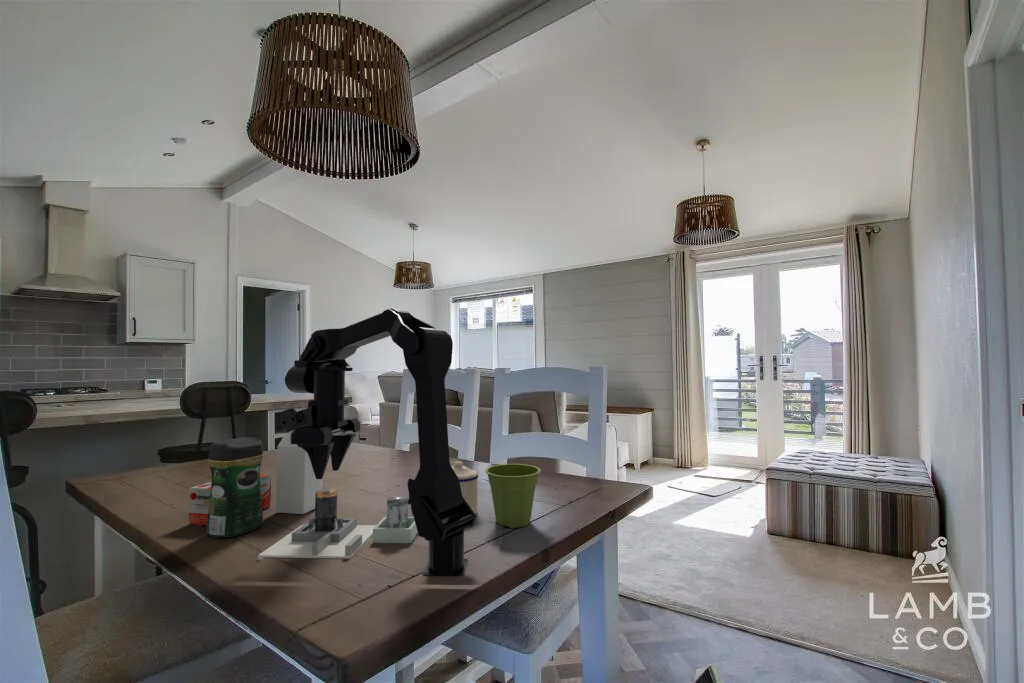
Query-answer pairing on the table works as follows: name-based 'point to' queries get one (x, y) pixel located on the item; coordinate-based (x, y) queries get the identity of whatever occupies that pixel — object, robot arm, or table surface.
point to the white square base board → (321, 542)
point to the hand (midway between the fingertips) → (327, 474)
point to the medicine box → (201, 499)
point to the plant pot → (513, 492)
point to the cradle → (312, 529)
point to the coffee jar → (235, 487)
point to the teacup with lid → (467, 484)
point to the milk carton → (295, 479)
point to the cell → (325, 509)
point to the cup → (394, 532)
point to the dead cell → (397, 512)
